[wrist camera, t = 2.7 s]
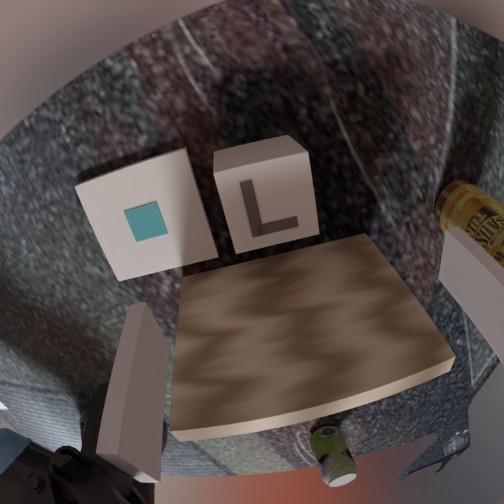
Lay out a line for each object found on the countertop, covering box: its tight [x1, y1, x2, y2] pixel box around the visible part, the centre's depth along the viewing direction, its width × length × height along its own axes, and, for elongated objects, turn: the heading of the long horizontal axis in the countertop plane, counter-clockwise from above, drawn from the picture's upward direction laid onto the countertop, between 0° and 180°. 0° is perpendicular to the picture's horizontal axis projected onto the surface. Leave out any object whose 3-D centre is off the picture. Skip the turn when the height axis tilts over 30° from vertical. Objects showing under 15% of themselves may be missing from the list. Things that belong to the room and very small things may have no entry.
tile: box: [75, 147, 218, 281], centre depth 26 cm, size 10×10×1 cm
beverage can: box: [309, 426, 357, 487], centre depth 46 cm, size 6×7×12 cm
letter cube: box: [213, 135, 319, 254], centre depth 23 cm, size 6×6×6 cm
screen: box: [170, 233, 456, 442], centre depth 24 cm, size 18×6×16 cm, turn 102°
